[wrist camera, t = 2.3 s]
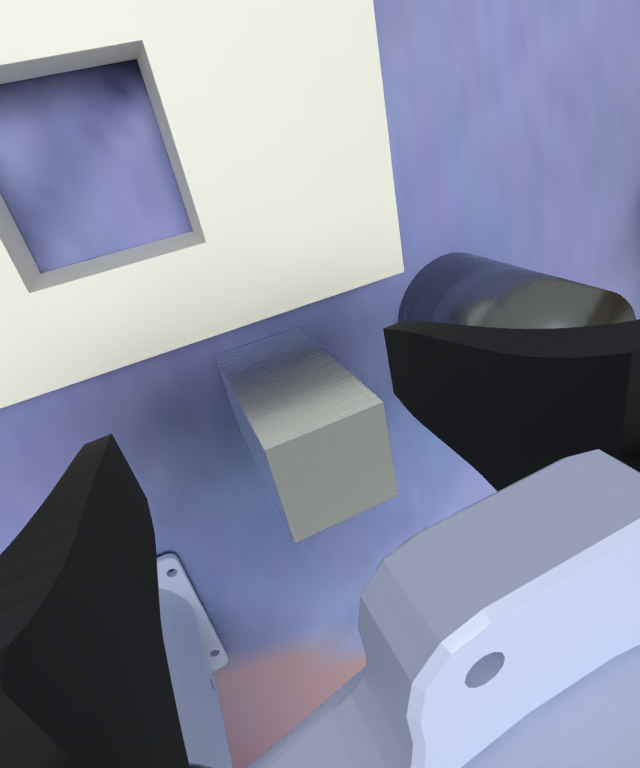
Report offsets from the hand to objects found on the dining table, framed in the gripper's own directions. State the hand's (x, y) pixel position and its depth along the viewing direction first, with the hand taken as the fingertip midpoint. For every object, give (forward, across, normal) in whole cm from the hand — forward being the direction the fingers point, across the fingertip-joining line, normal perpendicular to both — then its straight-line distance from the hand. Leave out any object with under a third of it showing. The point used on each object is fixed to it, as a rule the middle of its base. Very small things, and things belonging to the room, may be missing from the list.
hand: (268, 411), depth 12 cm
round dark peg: (+9, -12, +4) cm, 16 cm away
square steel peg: (+9, -2, +4) cm, 10 cm away
